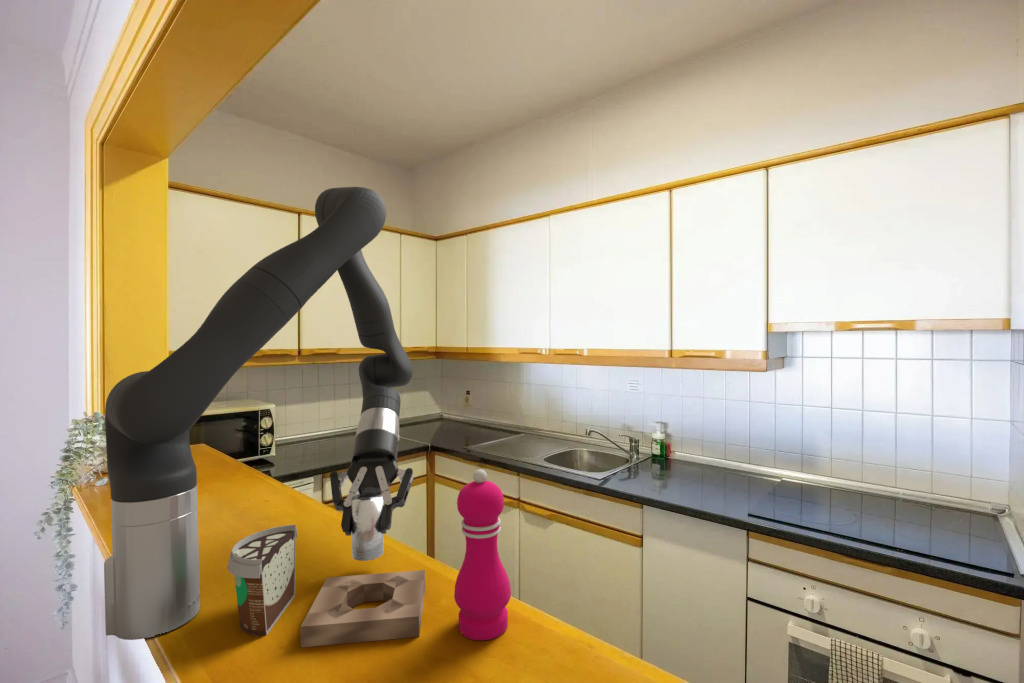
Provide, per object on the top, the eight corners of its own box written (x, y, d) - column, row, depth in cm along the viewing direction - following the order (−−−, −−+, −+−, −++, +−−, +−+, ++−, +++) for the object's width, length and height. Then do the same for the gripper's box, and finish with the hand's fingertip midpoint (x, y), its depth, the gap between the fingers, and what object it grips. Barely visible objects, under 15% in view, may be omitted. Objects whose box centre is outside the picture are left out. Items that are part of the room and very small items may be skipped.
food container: (256, 592, 70) (254, 525, 70) (298, 590, 71) (297, 523, 71) (208, 646, 58) (206, 564, 58) (261, 643, 58) (259, 561, 58)
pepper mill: (460, 649, 56) (456, 480, 56) (450, 615, 63) (447, 465, 63) (518, 637, 58) (515, 474, 58) (503, 605, 65) (500, 460, 65)
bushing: (349, 561, 73) (348, 502, 73) (355, 548, 78) (354, 492, 78) (381, 559, 74) (380, 501, 74) (385, 546, 78) (385, 491, 78)
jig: (301, 647, 57) (300, 626, 57) (327, 594, 69) (327, 577, 69) (419, 636, 59) (418, 616, 59) (425, 586, 71) (425, 569, 71)
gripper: (332, 428, 82) (312, 524, 70) (416, 425, 84) (410, 519, 72) (339, 452, 88) (322, 545, 76) (418, 449, 89) (414, 540, 77)
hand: (365, 532), depth 74 cm, fingers closed on bushing, 4 cm apart
